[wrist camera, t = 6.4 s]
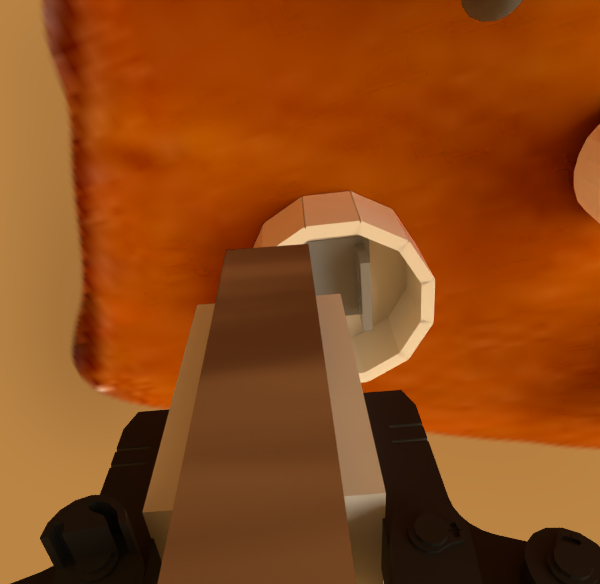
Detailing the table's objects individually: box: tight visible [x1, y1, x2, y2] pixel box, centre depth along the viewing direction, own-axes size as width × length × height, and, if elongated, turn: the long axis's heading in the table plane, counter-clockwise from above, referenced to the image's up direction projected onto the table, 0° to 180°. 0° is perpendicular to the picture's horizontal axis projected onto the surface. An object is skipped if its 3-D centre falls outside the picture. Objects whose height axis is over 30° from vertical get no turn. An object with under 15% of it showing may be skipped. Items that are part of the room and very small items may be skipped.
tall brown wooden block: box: [158, 244, 356, 584], centre depth 11 cm, size 4×2×12 cm, turn 4°
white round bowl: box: [253, 191, 435, 382], centre depth 33 cm, size 12×12×5 cm
